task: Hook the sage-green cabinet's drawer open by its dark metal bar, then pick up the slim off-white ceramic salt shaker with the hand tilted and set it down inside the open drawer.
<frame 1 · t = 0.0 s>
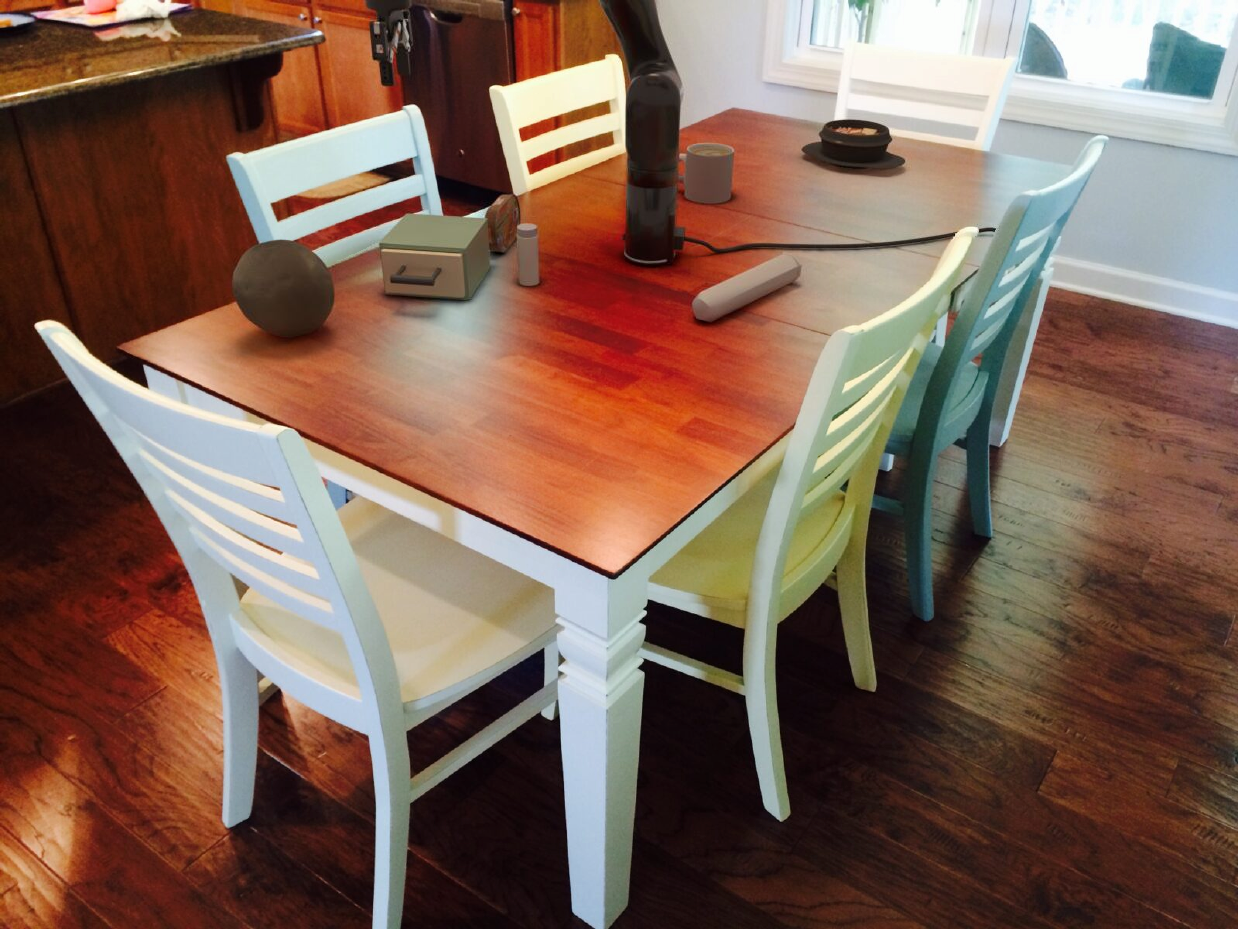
hand: (396, 80, 171), 29 cm above the table, tool pointing down, fingers open, 8 cm apart
cabinet: (439, 280, 172), on the table
dark brown ball: (293, 337, 153), on the table
coffee mug: (700, 195, 214), on the table
salt shaker: (529, 281, 172), on the table
tube: (744, 302, 167), on the table
drawer: (429, 265, 166), point 5 cm above the table, slide at 0.0 cm, touching cabinet
tin: (503, 245, 187), on the table
casserole: (851, 163, 235), on the table
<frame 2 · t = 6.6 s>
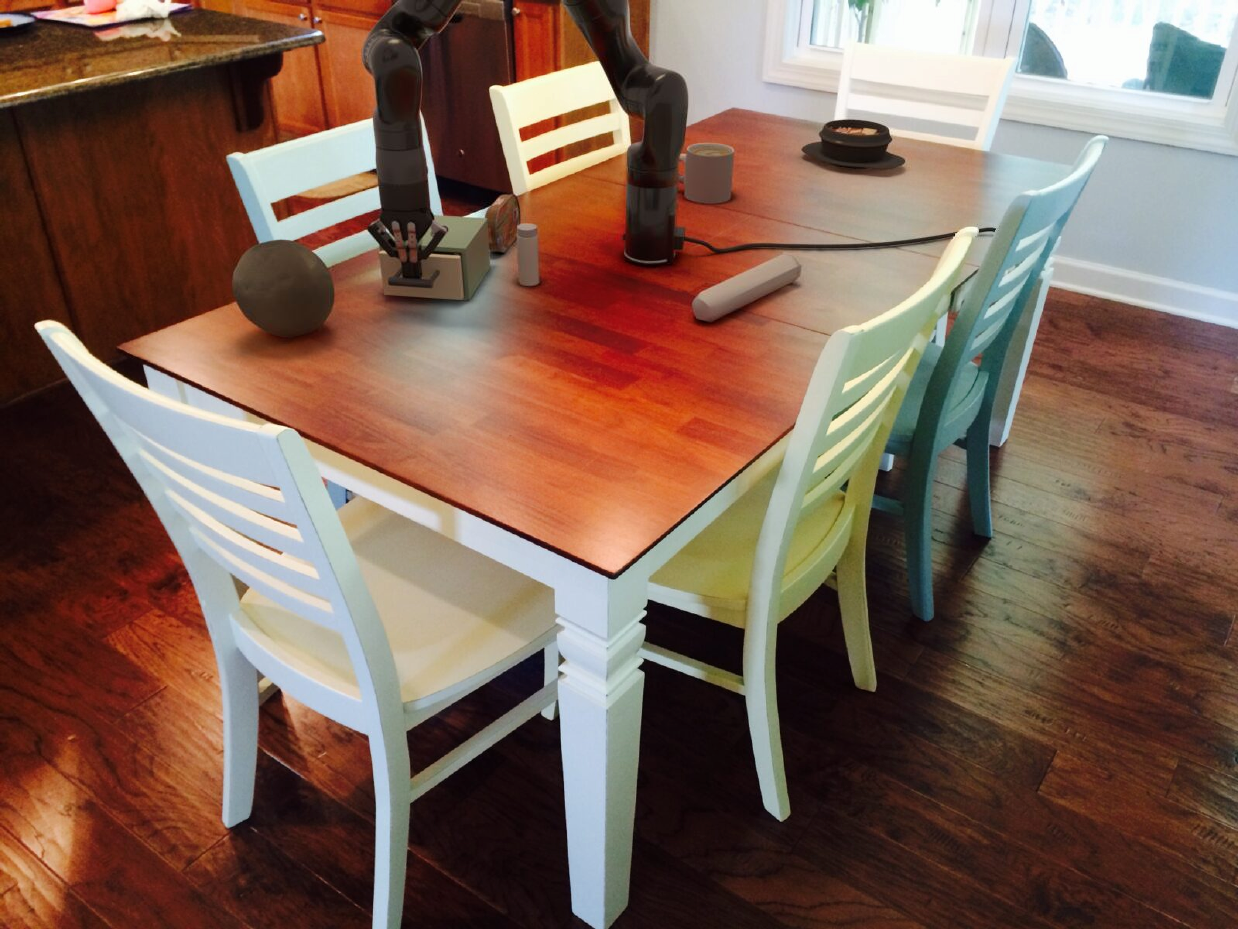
hand: (413, 281, 159), 5 cm above the table, tool pointing down, fingers closed
drawer: (427, 267, 165), point 5 cm above the table, slide at 0.9 cm, touching gripper
everything else where it was.
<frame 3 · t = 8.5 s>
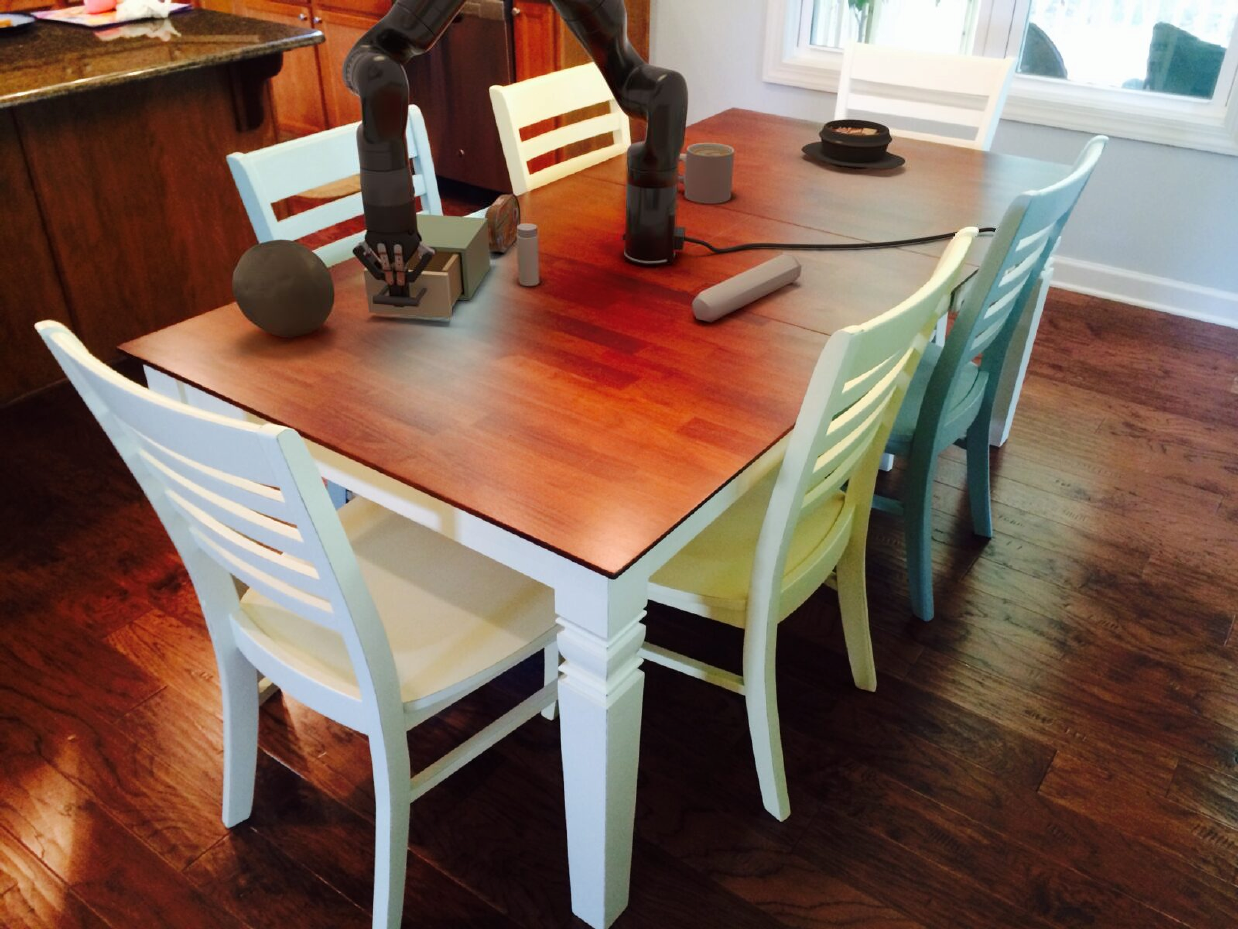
hand: (400, 305, 153), 4 cm above the table, tool pointing down, fingers closed
drawer: (414, 284, 159), point 5 cm above the table, slide at 8.1 cm
everything else where it was.
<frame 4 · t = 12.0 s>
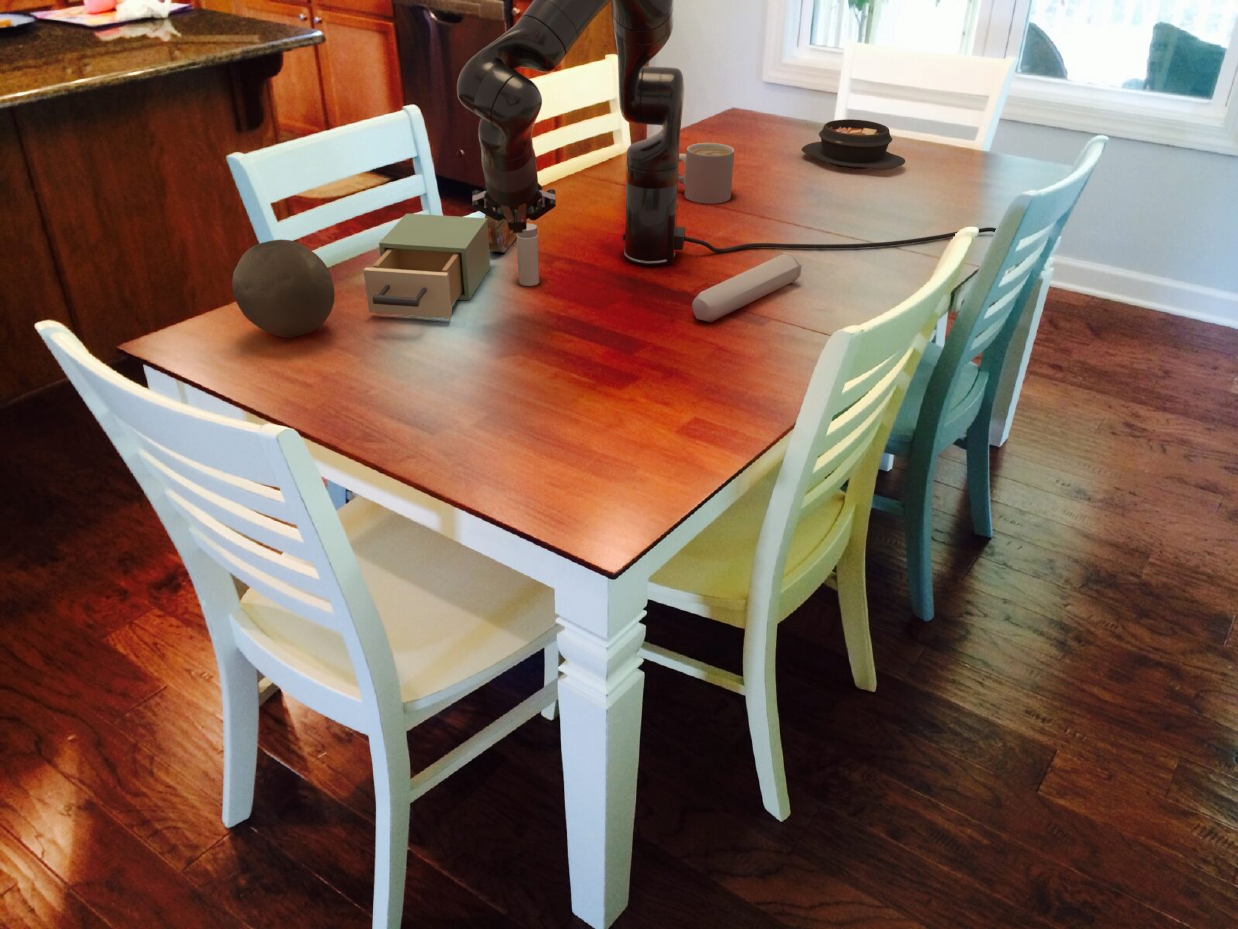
hand: (518, 227, 155), 14 cm above the table, tool tilted 40°, fingers closed
nothing on the table moved.
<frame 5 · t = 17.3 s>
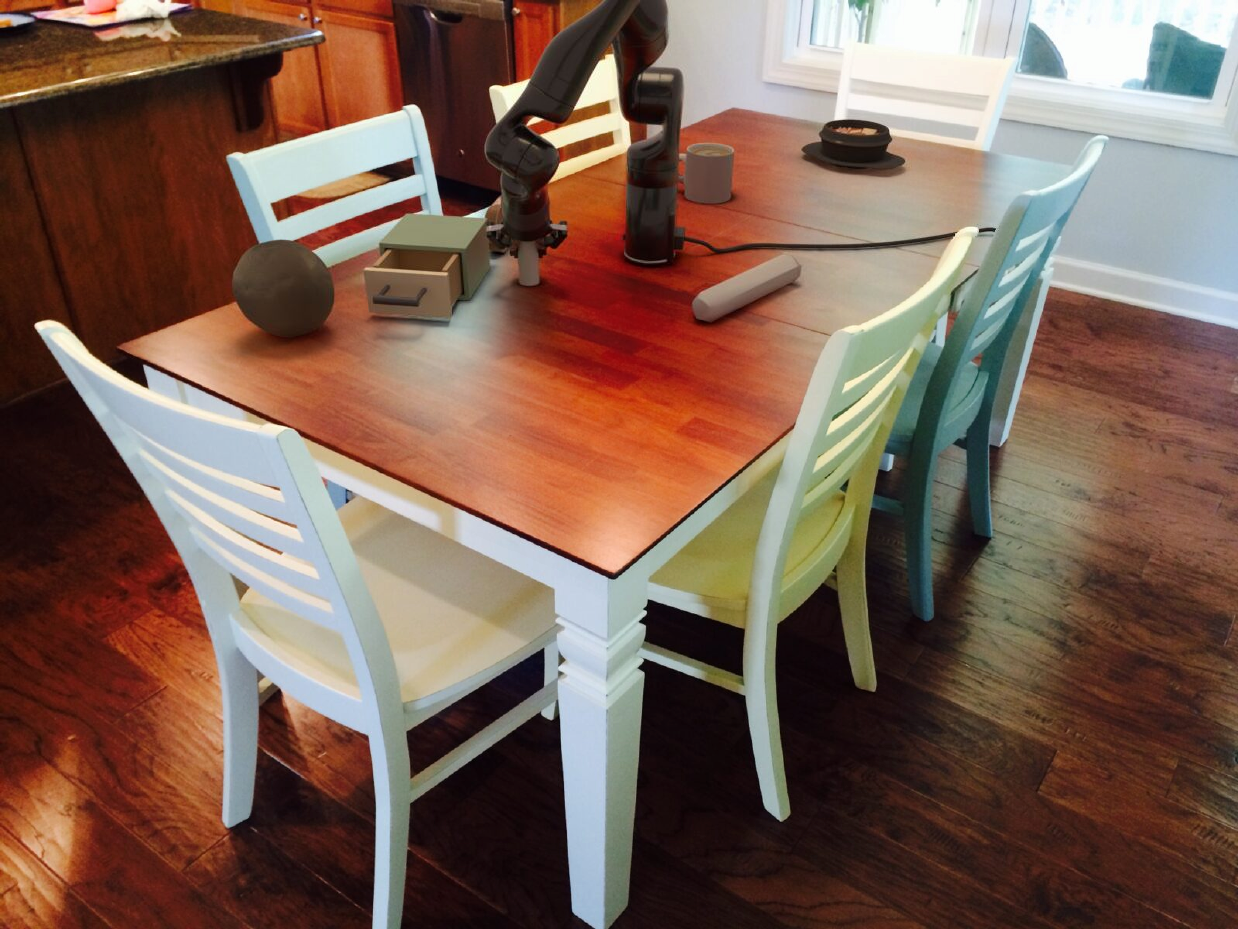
hand: (528, 253, 171), 5 cm above the table, tool tilted 45°, fingers closed on salt shaker, 3 cm apart
salt shaker: (529, 281, 172), on the table, touching gripper
everything else where it was.
when the fingers open (7 cm above the table, at t = 26.2 s): salt shaker stays where it is, resting on drawer.
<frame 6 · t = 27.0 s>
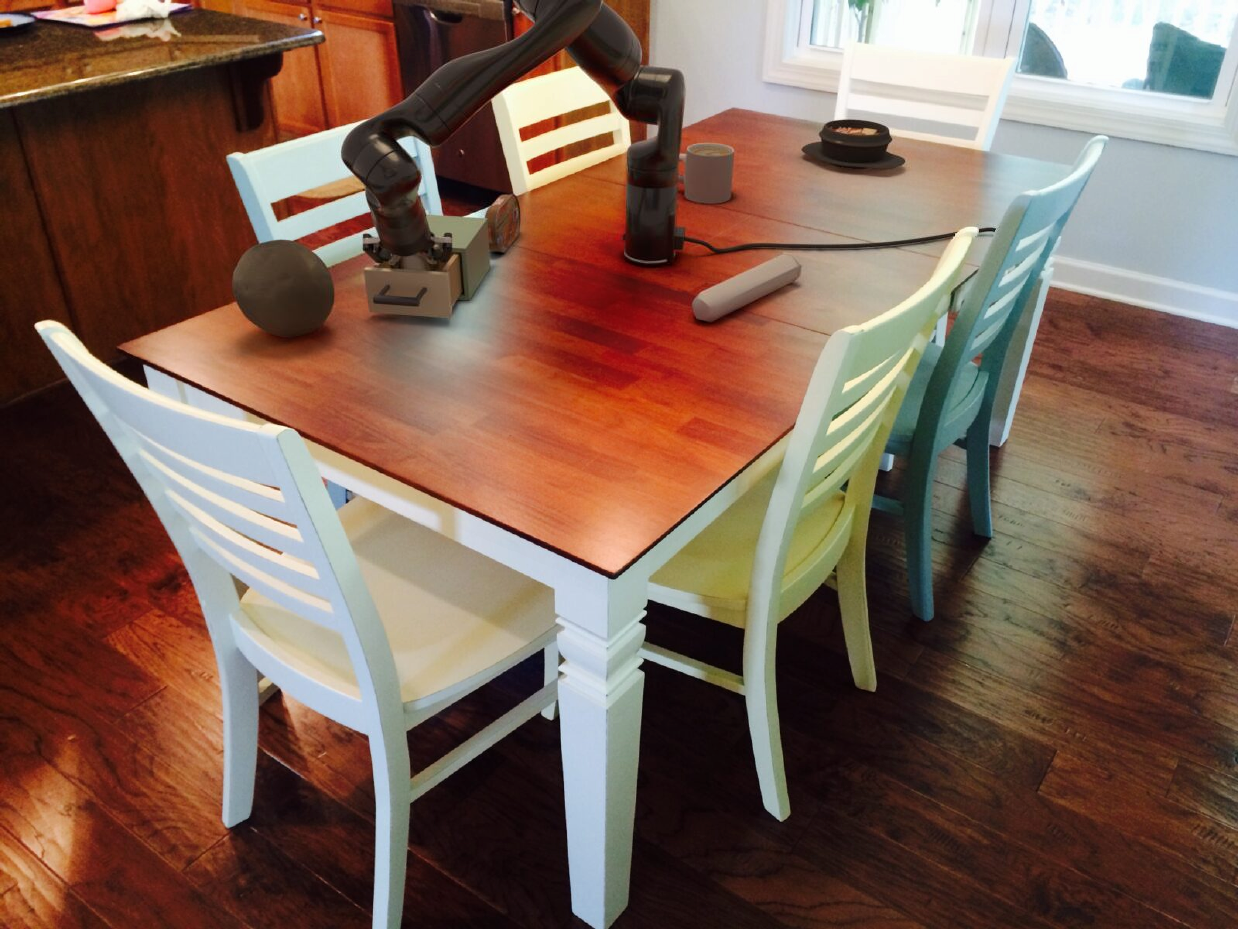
hand: (416, 266, 160), 6 cm above the table, tool tilted 45°, fingers open, 5 cm apart
salt shaker: (417, 297, 161), point 2 cm above the table, touching drawer
drawer: (414, 284, 159), point 5 cm above the table, slide at 8.0 cm, touching salt shaker
everything else where it was.
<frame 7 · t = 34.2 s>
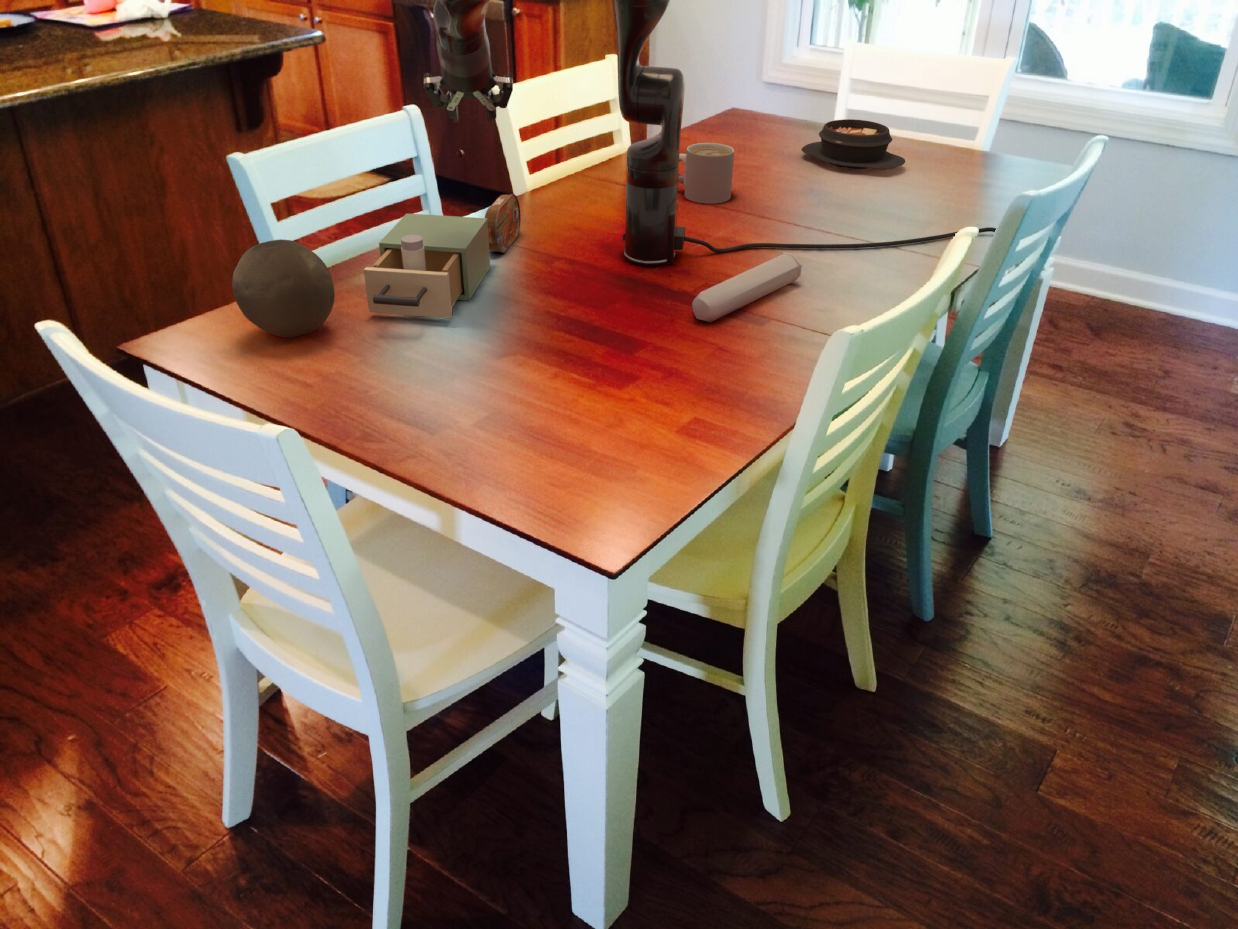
hand: (473, 116, 161), 27 cm above the table, tool tilted 45°, fingers open, 5 cm apart
nothing on the table moved.
at the end: drawer slide at 8.0 cm; salt shaker inside the target area in the drawer (1.3 cm from its centre), point 2.0 cm above the cabinet's base; the gripper is holding nothing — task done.
